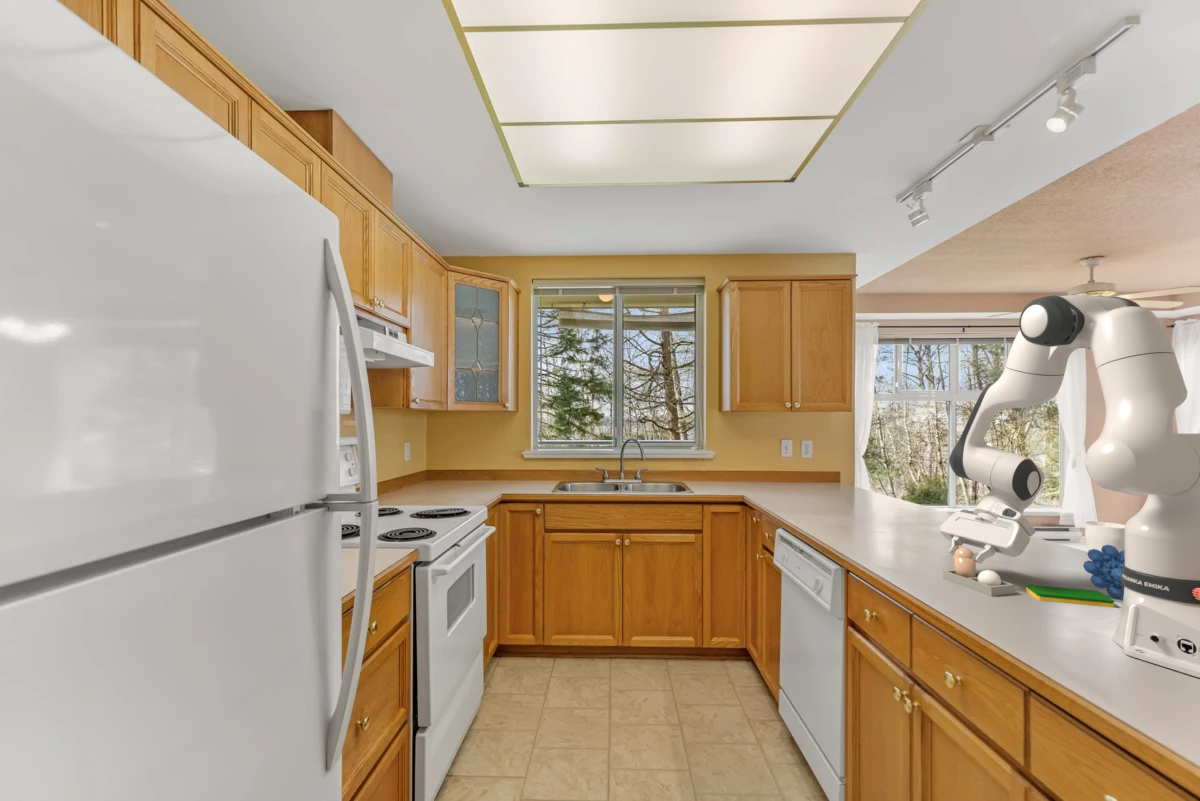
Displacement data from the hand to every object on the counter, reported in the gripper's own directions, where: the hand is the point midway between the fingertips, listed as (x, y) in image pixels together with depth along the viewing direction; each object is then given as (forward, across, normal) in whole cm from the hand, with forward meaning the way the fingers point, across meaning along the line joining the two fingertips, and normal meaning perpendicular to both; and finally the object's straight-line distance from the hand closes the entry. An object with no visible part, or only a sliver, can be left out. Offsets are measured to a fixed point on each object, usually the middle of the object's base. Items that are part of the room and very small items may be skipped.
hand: (964, 557), depth 137 cm
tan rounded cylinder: (+4, 0, +5) cm, 6 cm away
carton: (+4, +3, +5) cm, 7 cm away
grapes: (-13, +17, +22) cm, 31 cm away
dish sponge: (-4, +15, +14) cm, 21 cm away
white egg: (+4, +6, +5) cm, 9 cm away
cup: (-30, -1, +39) cm, 49 cm away
